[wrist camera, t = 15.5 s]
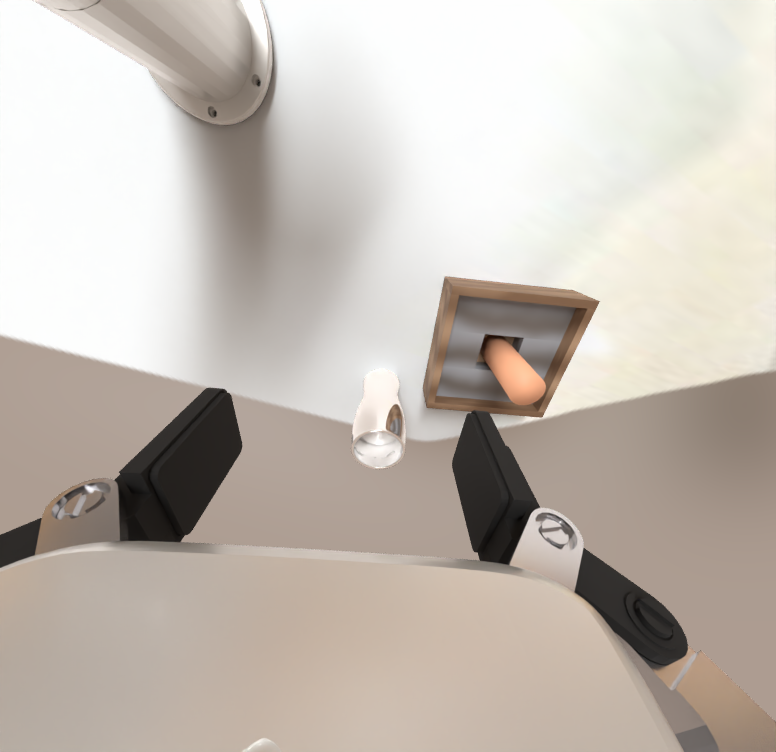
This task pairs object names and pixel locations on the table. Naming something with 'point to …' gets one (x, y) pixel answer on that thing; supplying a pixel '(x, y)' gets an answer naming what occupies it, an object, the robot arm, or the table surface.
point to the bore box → (517, 325)
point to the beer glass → (379, 422)
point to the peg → (512, 371)
